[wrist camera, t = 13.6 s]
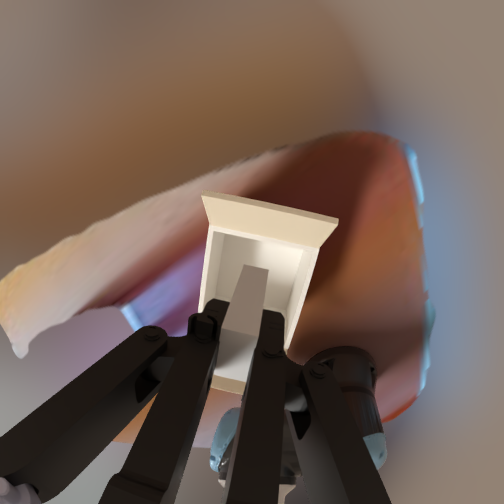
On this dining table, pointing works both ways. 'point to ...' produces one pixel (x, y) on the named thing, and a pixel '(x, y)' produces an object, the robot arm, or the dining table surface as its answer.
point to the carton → (263, 256)
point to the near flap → (267, 219)
